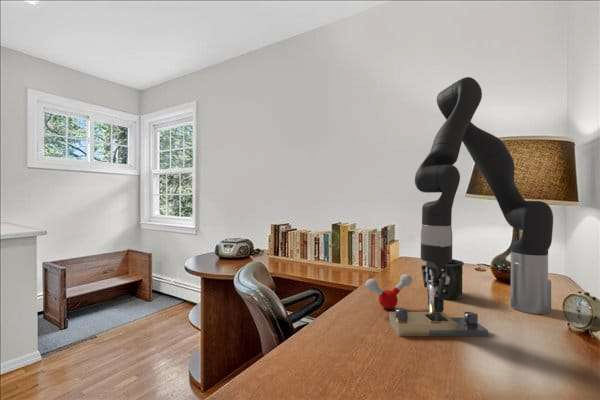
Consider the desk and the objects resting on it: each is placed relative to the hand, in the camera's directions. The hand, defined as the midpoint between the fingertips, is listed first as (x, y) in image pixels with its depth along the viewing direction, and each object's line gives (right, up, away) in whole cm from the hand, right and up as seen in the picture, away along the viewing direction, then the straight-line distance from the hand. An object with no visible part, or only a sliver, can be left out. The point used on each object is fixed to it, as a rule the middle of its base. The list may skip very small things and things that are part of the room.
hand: (435, 308), depth 80 cm
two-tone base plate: (0, -5, 0) cm, 5 cm away
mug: (+17, -5, +29) cm, 34 cm away
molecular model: (-8, -5, +15) cm, 18 cm away
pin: (0, -3, 0) cm, 3 cm away
